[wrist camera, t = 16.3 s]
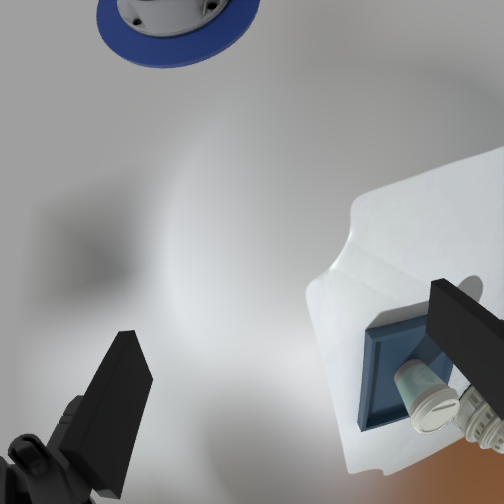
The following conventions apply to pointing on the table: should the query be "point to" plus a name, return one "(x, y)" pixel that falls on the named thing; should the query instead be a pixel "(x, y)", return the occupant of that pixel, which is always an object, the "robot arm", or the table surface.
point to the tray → (394, 369)
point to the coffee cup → (425, 397)
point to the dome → (479, 421)
